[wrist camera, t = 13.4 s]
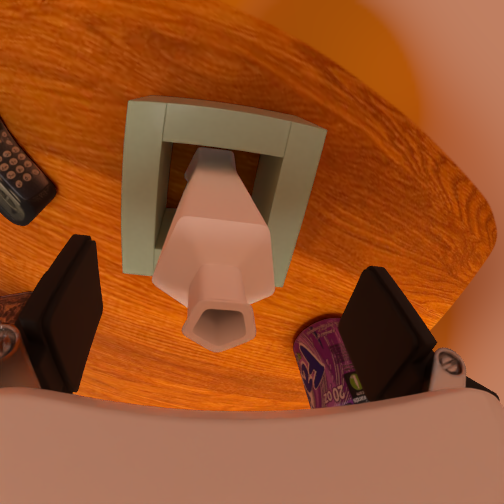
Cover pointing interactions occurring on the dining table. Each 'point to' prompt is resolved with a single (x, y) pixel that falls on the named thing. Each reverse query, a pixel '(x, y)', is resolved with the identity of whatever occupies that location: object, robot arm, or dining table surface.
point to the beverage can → (327, 367)
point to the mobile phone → (21, 183)
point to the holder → (222, 136)
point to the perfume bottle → (216, 254)
